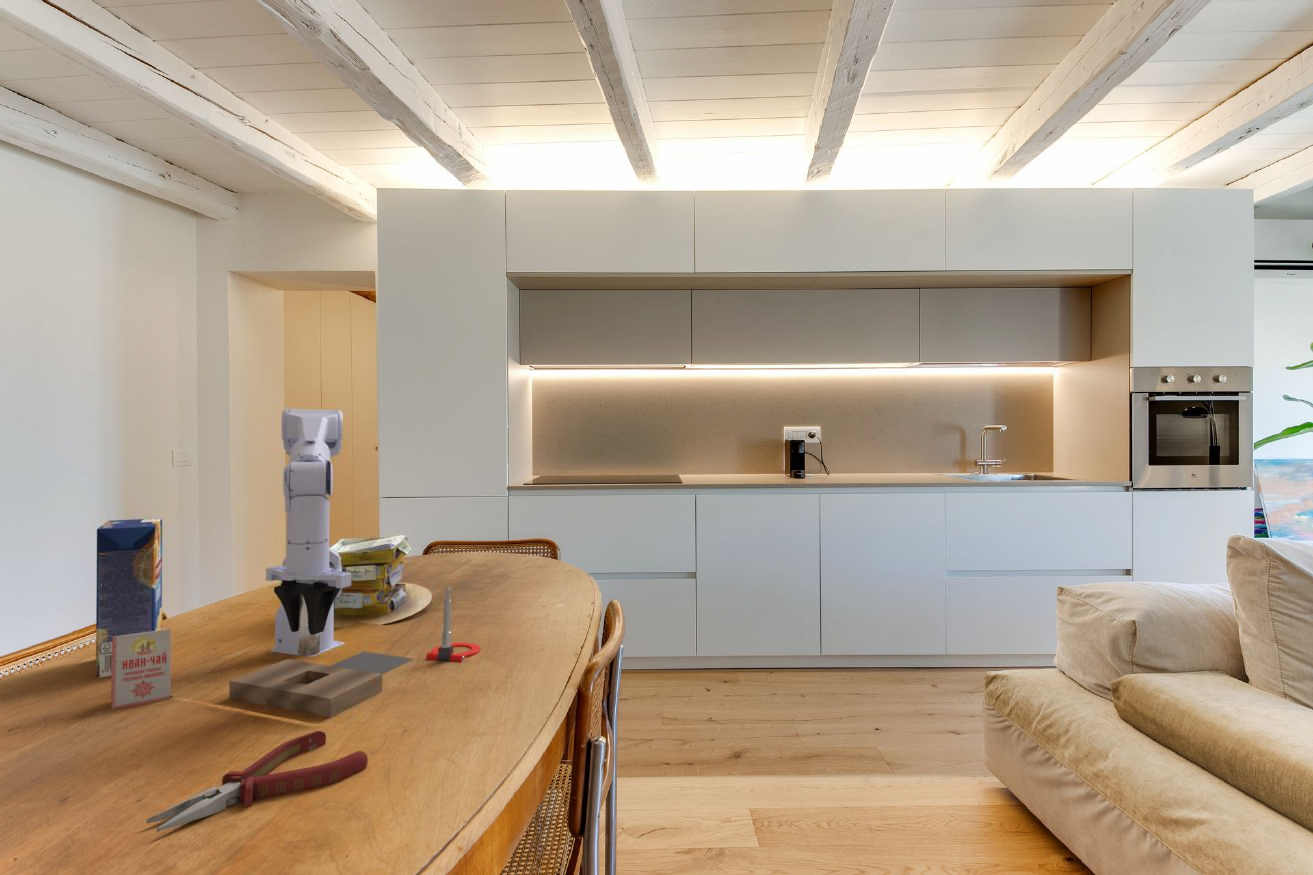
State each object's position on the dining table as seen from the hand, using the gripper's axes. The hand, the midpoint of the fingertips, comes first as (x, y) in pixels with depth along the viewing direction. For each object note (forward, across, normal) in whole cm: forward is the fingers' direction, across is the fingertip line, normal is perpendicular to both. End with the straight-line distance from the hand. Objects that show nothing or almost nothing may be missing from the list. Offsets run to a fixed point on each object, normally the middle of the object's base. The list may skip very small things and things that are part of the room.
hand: (307, 631), depth 99 cm
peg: (+3, 0, 0) cm, 3 cm away
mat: (+10, -1, +13) cm, 16 cm away
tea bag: (+10, -22, -9) cm, 26 cm away
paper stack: (+10, -25, +42) cm, 50 cm away
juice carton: (+10, -40, +1) cm, 41 cm away
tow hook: (+10, +9, +24) cm, 28 cm away
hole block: (+10, 0, 0) cm, 10 cm away
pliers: (+11, +15, -20) cm, 27 cm away
